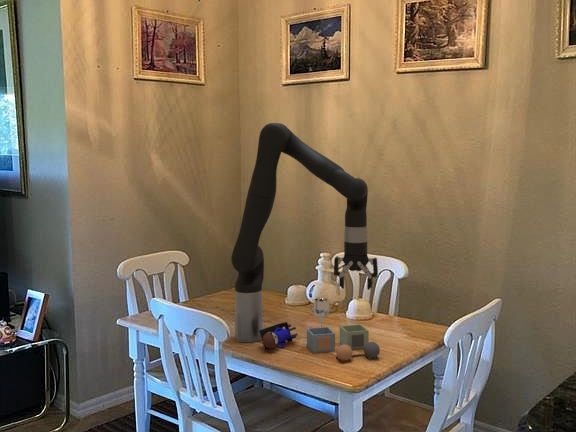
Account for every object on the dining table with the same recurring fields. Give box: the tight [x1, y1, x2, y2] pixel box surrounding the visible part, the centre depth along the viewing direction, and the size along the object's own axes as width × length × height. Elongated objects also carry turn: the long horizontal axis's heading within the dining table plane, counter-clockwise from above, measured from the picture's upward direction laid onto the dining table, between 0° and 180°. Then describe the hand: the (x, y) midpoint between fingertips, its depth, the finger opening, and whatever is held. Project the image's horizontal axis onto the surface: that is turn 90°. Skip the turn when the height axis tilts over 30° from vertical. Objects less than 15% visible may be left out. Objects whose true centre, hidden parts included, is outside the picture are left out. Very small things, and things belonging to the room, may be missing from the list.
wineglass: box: [312, 297, 330, 327], centre depth 215 cm, size 6×6×12 cm
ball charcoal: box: [363, 341, 381, 358], centre depth 189 cm, size 5×5×5 cm
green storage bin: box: [339, 323, 370, 351], centre depth 201 cm, size 8×8×6 cm
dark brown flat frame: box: [335, 353, 380, 364], centre depth 189 cm, size 13×4×1 cm, turn 103°
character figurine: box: [259, 321, 298, 351], centre depth 201 cm, size 8×7×15 cm
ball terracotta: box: [335, 344, 353, 361], centre depth 187 cm, size 5×5×5 cm
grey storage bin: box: [306, 326, 336, 354], centre depth 198 cm, size 8×8×6 cm
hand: (355, 288), depth 199 cm, fingers open, 8 cm apart
